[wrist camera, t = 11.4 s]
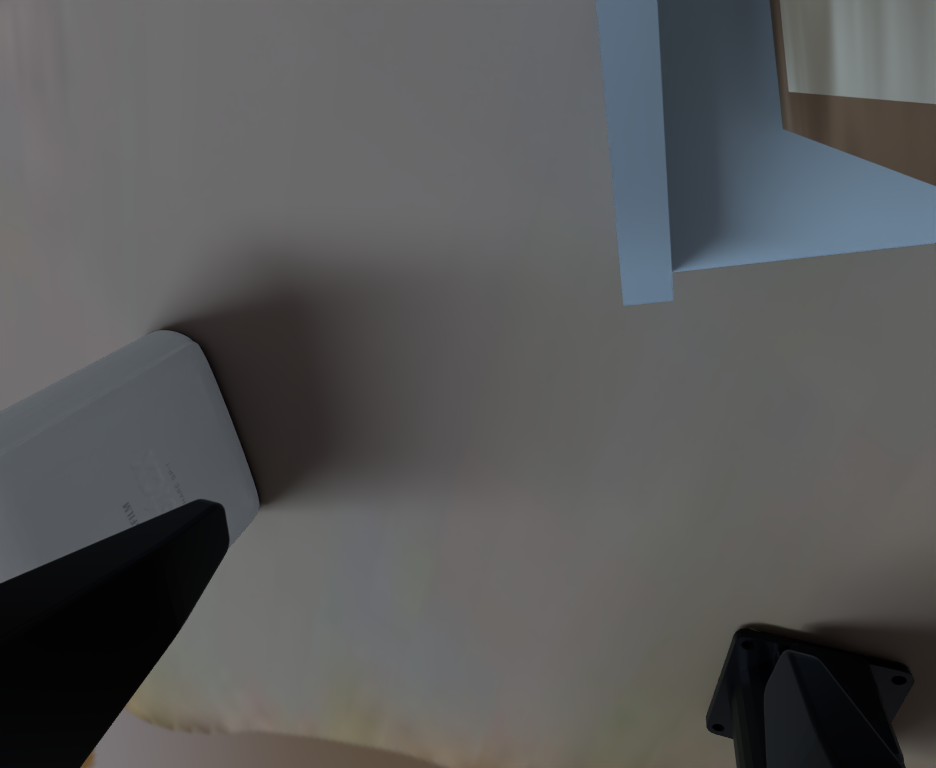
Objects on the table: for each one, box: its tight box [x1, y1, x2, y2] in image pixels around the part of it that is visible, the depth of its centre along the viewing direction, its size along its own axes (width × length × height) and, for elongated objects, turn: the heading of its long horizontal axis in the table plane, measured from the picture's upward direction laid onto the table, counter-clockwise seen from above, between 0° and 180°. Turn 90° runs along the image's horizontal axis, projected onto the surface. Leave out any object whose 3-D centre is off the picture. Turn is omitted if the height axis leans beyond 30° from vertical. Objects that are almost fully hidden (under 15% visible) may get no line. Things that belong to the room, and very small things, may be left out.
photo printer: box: [0, 330, 259, 583], centre depth 23 cm, size 10×4×12 cm, turn 9°
